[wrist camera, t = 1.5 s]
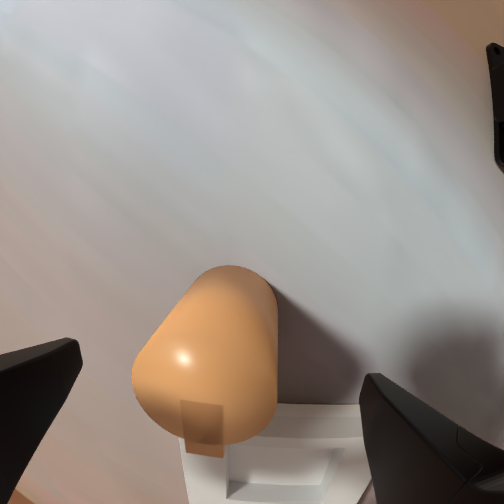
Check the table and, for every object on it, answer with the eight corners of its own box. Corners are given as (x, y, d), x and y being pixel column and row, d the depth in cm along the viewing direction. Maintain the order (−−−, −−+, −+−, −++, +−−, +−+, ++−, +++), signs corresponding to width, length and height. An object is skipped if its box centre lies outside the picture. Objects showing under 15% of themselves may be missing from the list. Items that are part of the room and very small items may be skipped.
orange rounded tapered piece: (281, 269, 13) (285, 340, 7) (272, 363, 14) (268, 462, 8) (186, 261, 13) (123, 321, 7) (188, 355, 14) (144, 443, 8)
